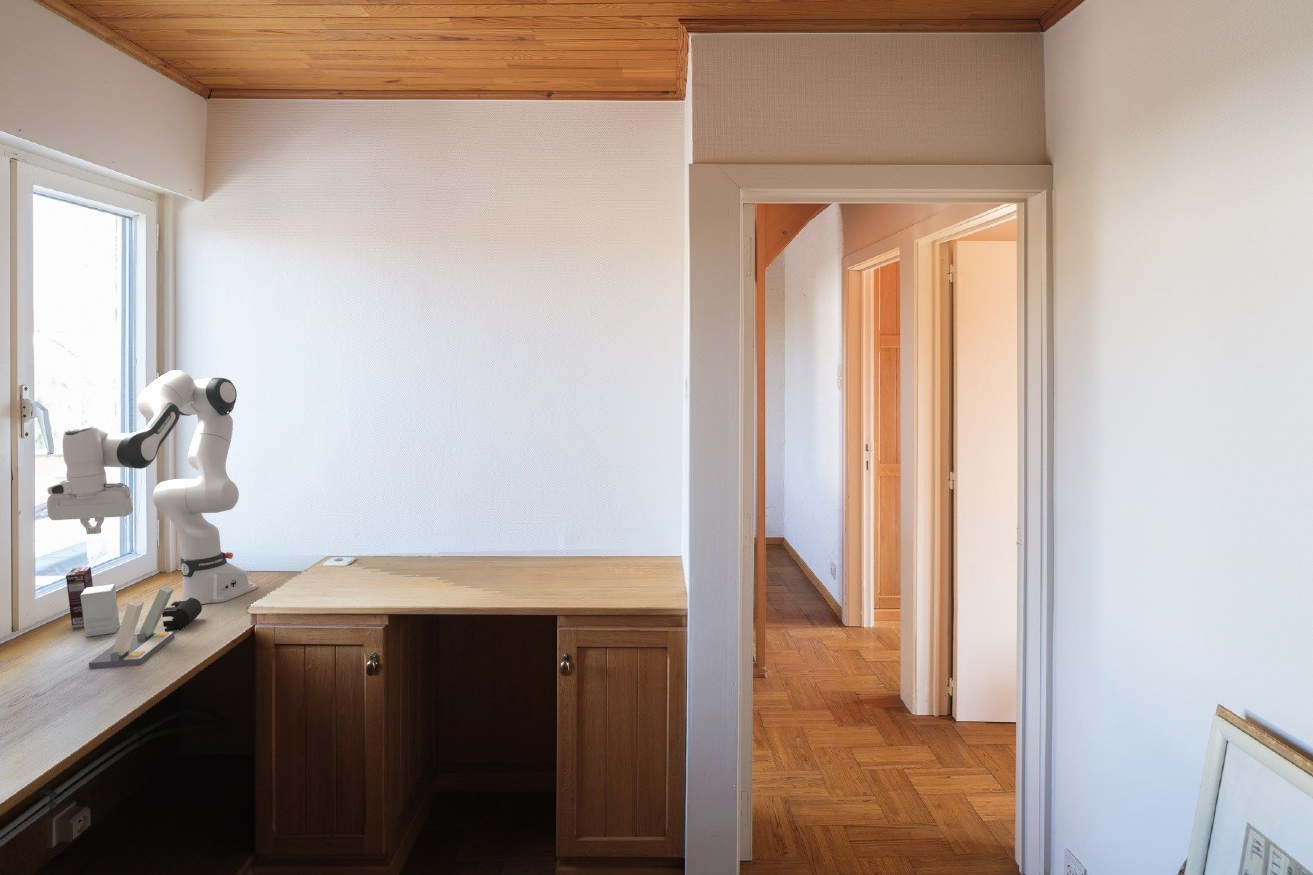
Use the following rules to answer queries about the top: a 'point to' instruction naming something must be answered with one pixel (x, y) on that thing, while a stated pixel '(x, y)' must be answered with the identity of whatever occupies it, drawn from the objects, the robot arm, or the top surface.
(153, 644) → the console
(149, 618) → the bar
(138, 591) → the top surface
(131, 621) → the bar
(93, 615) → the supplement box
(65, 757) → the top surface
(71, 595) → the supplement box
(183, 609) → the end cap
